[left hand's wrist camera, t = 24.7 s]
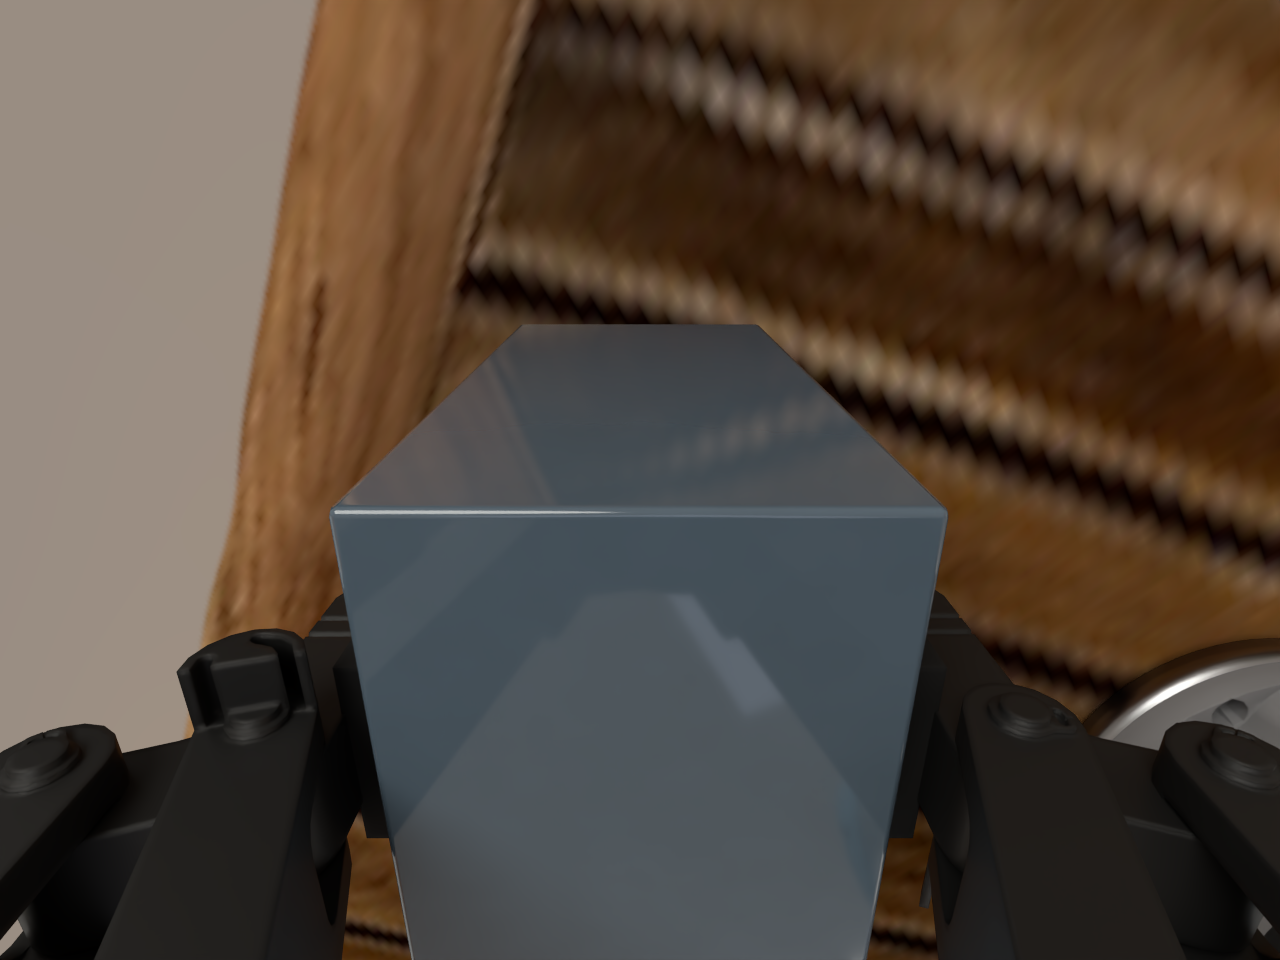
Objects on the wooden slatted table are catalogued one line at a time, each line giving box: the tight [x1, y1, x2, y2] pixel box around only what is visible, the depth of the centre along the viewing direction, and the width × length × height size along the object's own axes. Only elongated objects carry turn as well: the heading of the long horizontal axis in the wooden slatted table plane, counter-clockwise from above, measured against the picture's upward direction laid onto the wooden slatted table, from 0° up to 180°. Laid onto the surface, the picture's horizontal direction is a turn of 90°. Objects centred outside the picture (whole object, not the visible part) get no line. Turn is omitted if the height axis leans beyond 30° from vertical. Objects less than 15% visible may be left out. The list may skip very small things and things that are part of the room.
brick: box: [329, 325, 948, 960], centre depth 13 cm, size 6×8×11 cm
